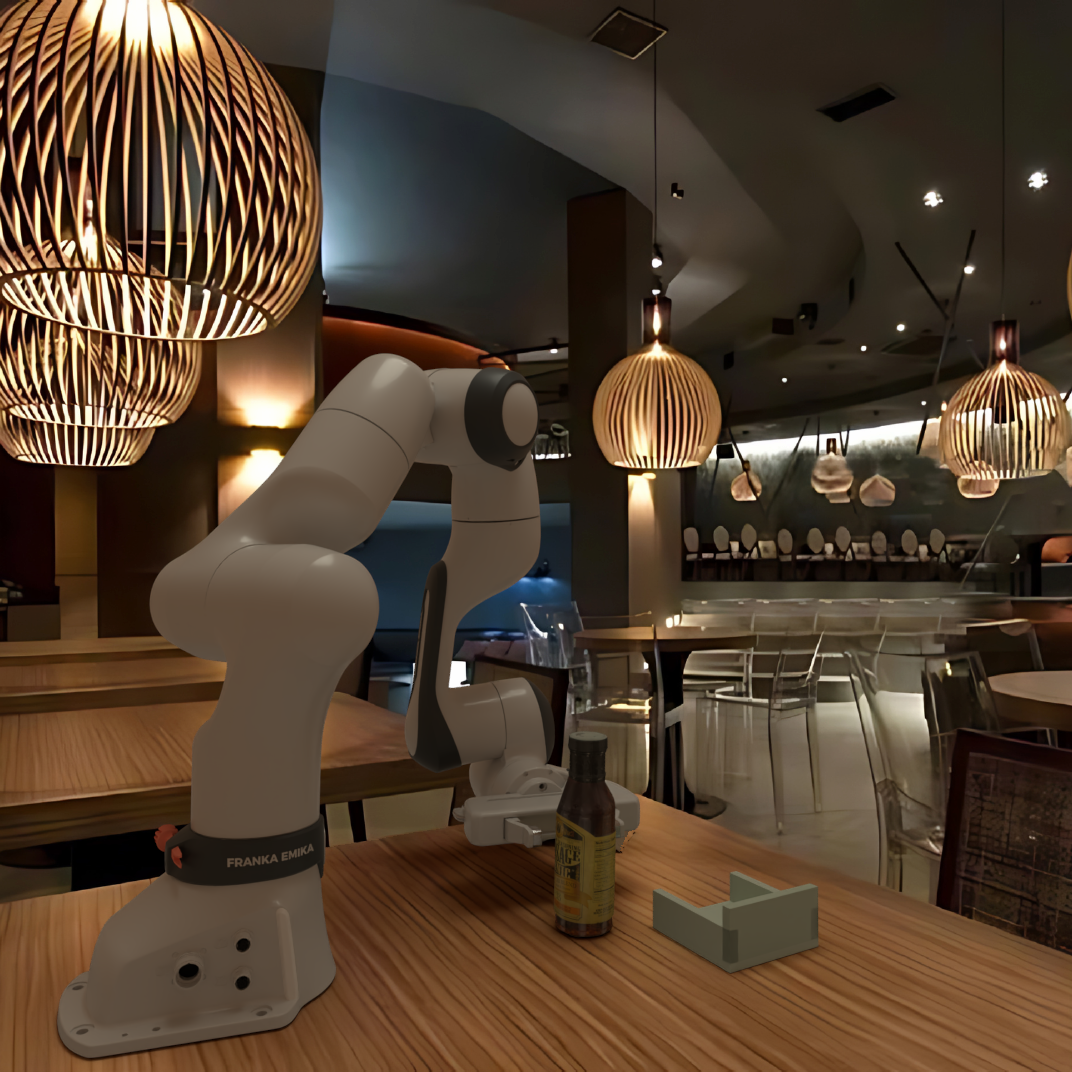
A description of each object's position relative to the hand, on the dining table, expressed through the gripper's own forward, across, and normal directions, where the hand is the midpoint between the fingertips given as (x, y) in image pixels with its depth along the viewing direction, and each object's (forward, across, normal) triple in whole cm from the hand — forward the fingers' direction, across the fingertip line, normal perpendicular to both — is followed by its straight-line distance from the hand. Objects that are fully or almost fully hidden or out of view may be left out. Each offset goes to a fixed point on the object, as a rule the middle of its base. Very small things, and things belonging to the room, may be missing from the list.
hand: (577, 835), depth 91 cm
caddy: (+9, +14, +9) cm, 18 cm away
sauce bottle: (+2, 0, +9) cm, 9 cm away
